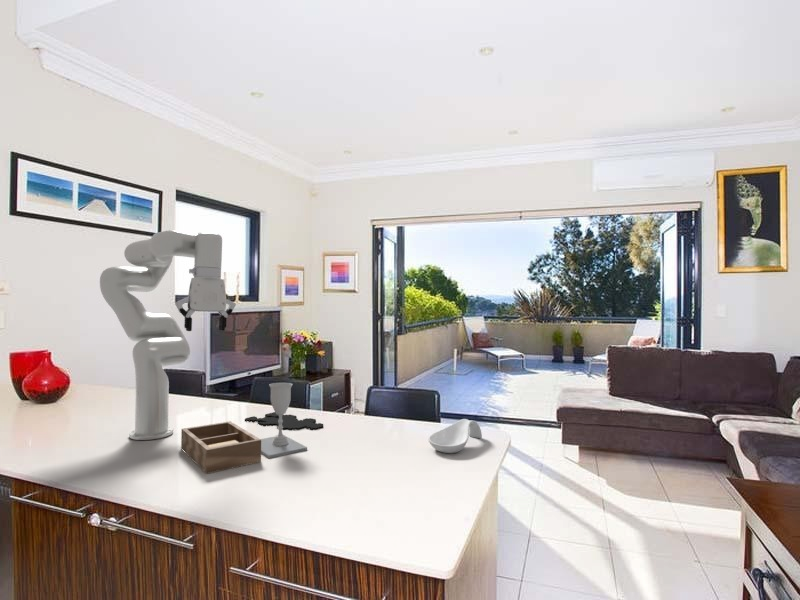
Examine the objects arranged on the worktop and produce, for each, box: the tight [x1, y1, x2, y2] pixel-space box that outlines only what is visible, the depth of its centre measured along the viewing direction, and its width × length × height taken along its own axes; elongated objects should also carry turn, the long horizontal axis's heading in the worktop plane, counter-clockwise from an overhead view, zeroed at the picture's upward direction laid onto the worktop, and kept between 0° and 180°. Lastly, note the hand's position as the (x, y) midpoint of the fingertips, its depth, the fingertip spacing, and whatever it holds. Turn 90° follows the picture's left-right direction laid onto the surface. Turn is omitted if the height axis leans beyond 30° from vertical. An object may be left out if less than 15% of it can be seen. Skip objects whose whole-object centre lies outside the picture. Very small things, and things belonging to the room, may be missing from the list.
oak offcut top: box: [207, 440, 239, 448], centre depth 127 cm, size 8×9×2 cm
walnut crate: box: [180, 420, 262, 474], centre depth 131 cm, size 24×14×6 cm, turn 40°
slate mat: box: [260, 435, 308, 459], centre depth 139 cm, size 16×12×1 cm
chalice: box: [268, 382, 293, 446], centre depth 140 cm, size 7×7×18 cm
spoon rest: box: [428, 418, 483, 454], centre depth 143 cm, size 24×12×7 cm, turn 143°
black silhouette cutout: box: [244, 411, 324, 431], centre depth 167 cm, size 16×1×30 cm
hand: (205, 330), depth 138 cm, fingers open, 9 cm apart
